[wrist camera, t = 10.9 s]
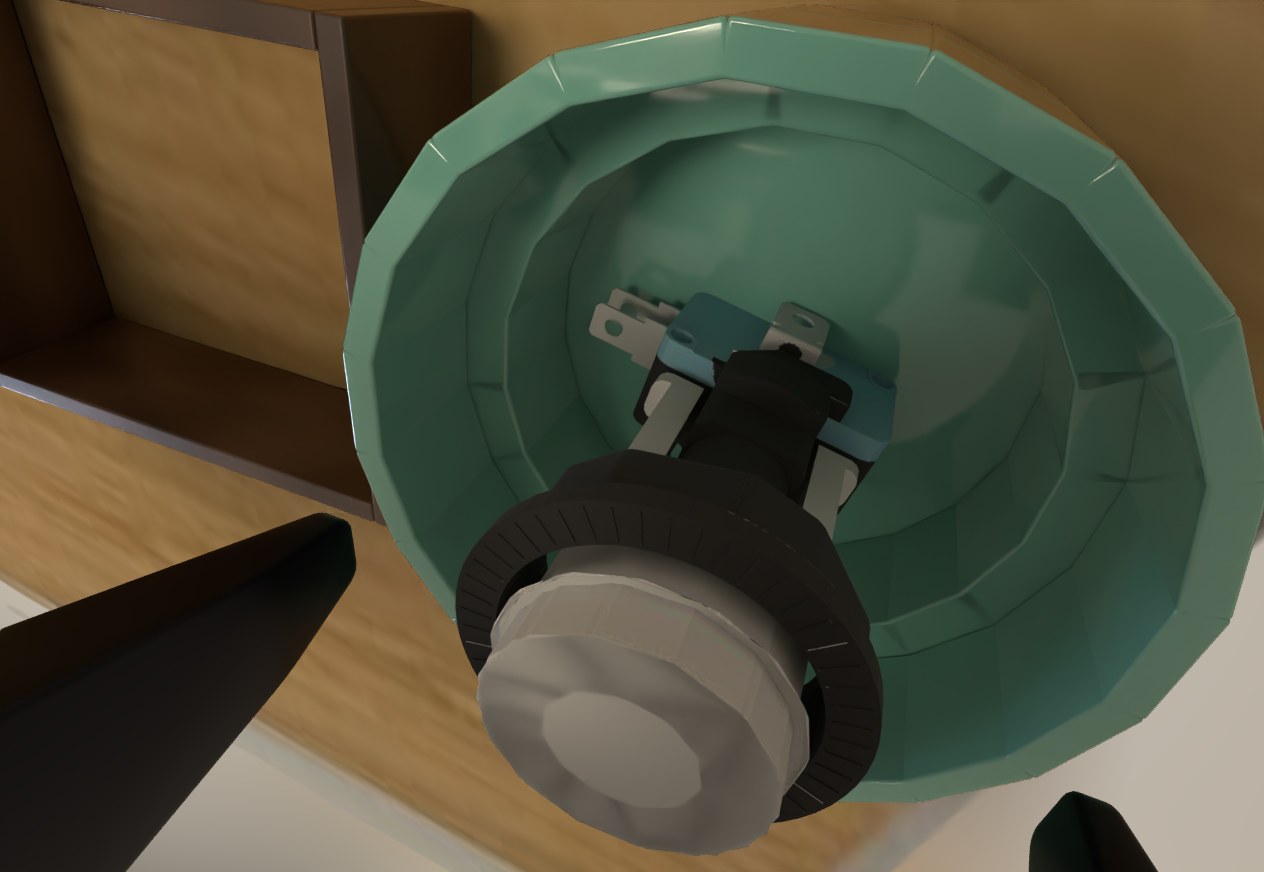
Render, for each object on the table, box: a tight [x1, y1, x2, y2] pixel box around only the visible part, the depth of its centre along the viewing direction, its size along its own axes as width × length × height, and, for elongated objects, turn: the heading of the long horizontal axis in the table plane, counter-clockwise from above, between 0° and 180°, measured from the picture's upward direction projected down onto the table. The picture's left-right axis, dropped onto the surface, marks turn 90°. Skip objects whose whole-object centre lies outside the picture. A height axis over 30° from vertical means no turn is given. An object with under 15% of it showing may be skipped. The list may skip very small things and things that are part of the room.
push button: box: [455, 287, 897, 856], centre depth 12 cm, size 7×5×10 cm
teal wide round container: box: [343, 4, 1264, 803], centre depth 13 cm, size 13×13×6 cm
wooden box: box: [0, 0, 471, 527], centre depth 18 cm, size 14×11×4 cm
